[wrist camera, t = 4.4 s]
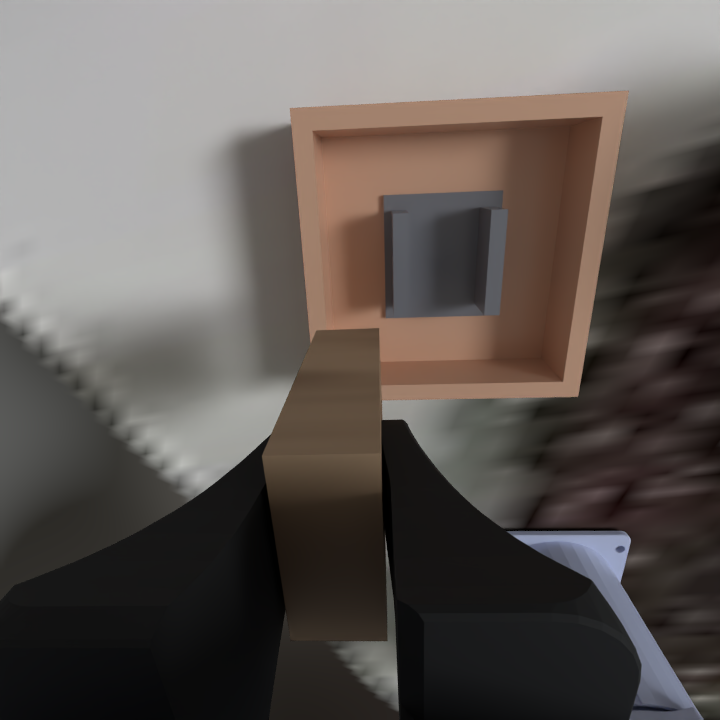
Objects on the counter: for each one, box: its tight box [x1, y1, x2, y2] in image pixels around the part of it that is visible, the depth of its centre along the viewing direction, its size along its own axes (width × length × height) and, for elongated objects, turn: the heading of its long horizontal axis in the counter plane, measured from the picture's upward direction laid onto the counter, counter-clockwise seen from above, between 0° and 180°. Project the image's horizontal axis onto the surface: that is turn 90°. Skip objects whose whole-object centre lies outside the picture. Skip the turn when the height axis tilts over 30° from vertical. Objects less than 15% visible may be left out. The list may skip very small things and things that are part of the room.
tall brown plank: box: [262, 328, 387, 641], centre depth 11 cm, size 4×2×7 cm, turn 3°
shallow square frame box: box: [290, 91, 629, 400], centre depth 18 cm, size 11×11×3 cm
